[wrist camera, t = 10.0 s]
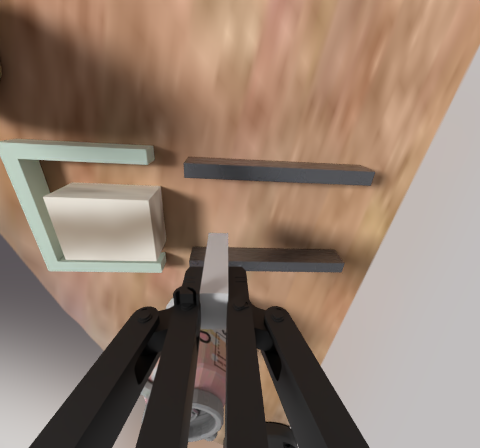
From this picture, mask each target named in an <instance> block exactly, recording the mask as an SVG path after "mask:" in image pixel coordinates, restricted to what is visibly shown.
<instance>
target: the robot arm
mask: <svg viewBox="0 0 480 448" xmlns="http://www.w3.org/2000/svg"><path fill="white" fill-rule="evenodd" d="M173 298H174V306H172V307H170V308H168V309H165V310H161V311H158V310H157V309H156V308H154V307H143V308H140V309H139V310H137V311H136V312H135V313H134V314H133V315H132V316H131V317H130V318H129V320H128V321H127V322H126V324H125V325H124V326H123V327H122V329H121V330H120V331H119V333H118V334H117V335H116V336H115V338H114V339H113V340H112V342H111V343H110V344H109V345H108V347H107V348H106V349H105V351H104V352H103V353H102V354H101V356H100V357H99V358H98V360H97V361H96V362H95V363H94V365H93V366H92V367H91V369H90V370H89V371H88V372H87V374H86V375H85V376H84V378H83V379H82V380H81V381H80V383H79V384H78V385H77V387H76V388H75V389H74V390H73V392H72V393H71V394H70V396H69V397H68V398H67V399H66V401H65V402H64V403H63V405H62V406H61V407H60V408H59V410H58V411H57V412H56V413H55V415H54V416H53V417H52V419H51V420H50V421H49V422H48V424H47V425H46V426H45V428H44V429H43V430H42V431H41V433H40V434H39V435H38V437H37V438H36V439H35V441H34V442H33V443H32V444H31V446H30V447H29V448H112V447H113V445H114V443H115V441H116V439H117V437H118V435H119V434H120V432H121V430H122V428H123V426H124V424H125V422H126V420H127V418H128V416H129V415H130V413H131V411H132V409H133V407H134V405H135V403H136V401H137V399H138V398H139V396H140V394H141V392H142V390H143V388H144V386H145V384H146V382H147V381H148V379H149V377H150V375H151V373H152V371H153V369H154V367H155V365H156V364H157V362H158V360H159V358H160V360H159V363H158V367H157V371H156V374H155V378H154V382H153V385H152V389H151V393H150V396H149V400H148V404H147V407H146V411H145V415H144V419H143V422H142V426H141V430H140V434H139V437H138V441H137V444H136V448H187V445H188V437H189V428H190V420H191V411H192V403H193V394H194V386H195V377H196V369H197V360H198V352H199V343H200V327H201V329H226V397H225V438H224V441H223V448H298V447H299V448H369V446H368V444H367V443H366V441H365V439H364V438H363V436H362V434H361V433H360V431H359V429H358V428H357V426H356V424H355V423H354V421H353V419H352V418H351V416H350V414H349V413H348V411H347V409H346V408H345V406H344V405H343V403H342V401H341V399H340V398H339V396H338V395H337V393H336V391H335V390H334V388H333V386H332V385H331V383H330V381H329V379H328V378H327V376H326V374H325V373H324V371H323V369H322V368H321V366H320V364H319V363H318V361H317V359H316V358H315V356H314V354H313V353H312V351H311V349H310V348H309V346H308V345H307V343H306V341H305V340H304V338H303V336H302V335H301V333H300V331H299V330H298V328H297V326H296V325H295V323H294V321H293V320H292V318H291V316H290V315H289V313H288V312H287V311H286V310H285V309H283V308H281V307H278V306H272V307H270V308H268V309H267V310H262V309H259V308H256V307H255V306H253V305H252V304H251V302H250V300H249V293H248V285H247V276H246V271H245V270H244V268H243V267H228V233H209V235H208V242H207V248H206V255H205V261H204V267H193V266H190V267H189V268H188V269H187V271H186V273H185V277H184V280H183V284H182V286H181V287H179V288H177V289H176V290H175V291H174V293H173ZM257 349H260V350H261V353H262V355H263V358H264V360H265V363H266V365H267V368H268V370H269V373H270V375H271V378H272V381H273V383H274V386H275V388H276V391H277V393H278V396H279V398H280V401H281V403H282V406H283V409H284V411H285V414H286V416H287V419H288V421H289V424H290V426H291V429H290V428H289V427H287V426H284V425H281V424H275V423H266V422H265V414H264V405H263V397H262V389H261V381H260V372H259V364H258V356H257ZM297 444H298V446H297Z"/></svg>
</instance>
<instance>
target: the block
mask: <svg viewBox="0 0 480 448" xmlns="http://www.w3.org/2000/svg"><path fill="white" fill-rule="evenodd" d="M43 199H44V202H45V204H46V207H47V210H48V213H49V215H50V218H51V221H52V224H53V226H54V229H55V232H56V235H57V237H58V240H59V243H60V246H61V248H62V251H63V254H64V257H65V259H66V260H109V261H157V260H158V257H159V255H160V253H161V251H162V249H163V247H164V244H165V242H166V231H165V221H164V212H163V203H162V193H161V186H149V185H124V184H100V183H75V182H72V183H70V184H68V185H66V186H64V187H62V188H60V189H58V190H56V191H54V192H52V193H50V194H47V195H45V196H43Z"/></svg>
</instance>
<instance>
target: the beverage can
mask: <svg viewBox="0 0 480 448" xmlns="http://www.w3.org/2000/svg"><path fill="white" fill-rule="evenodd" d="M172 306H174V298H172V299H171V300H170V302H169V303H168V305H167V306H166V309H168V308H170V307H172ZM159 360H160V358H159ZM159 360H158V362H157V364H156V365H155V367H154V369H153V371H152V373H151V375H150V377H149V379H148V381H147V382H146V384H145V386H144V388H143V390H142V392H141V395H142V396H144V399H145V402H146V407H147V404H148V400H149V396H150V393H151V389H152V385H153V382H154V378H155V374H156V371H157V367H158V363H159ZM225 397H226V329H201V327H200V343H199V352H198V360H197V369H196V377H195V386H194V394H193V403H192V411H191V420H190V428H189V437H188V442H193V441H198V440H202V439H205V440H207V441H213V440H214V439H215V438H216V436H217V431H219V430H220V429H221V427H222V425H223V415H224V409H223V407H224V405H225ZM146 407H145V410H144V414H143V419H144V415H145V411H146ZM143 419H142V422H143Z"/></svg>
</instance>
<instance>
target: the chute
mask: <svg viewBox="0 0 480 448" xmlns="http://www.w3.org/2000/svg"><path fill="white" fill-rule="evenodd" d="M374 174H375V172H374V171H372V170H370V169H368V168H365V167H363V166H361V165H348V164H327V163H306V162H286V161H265V160H245V159H224V158H203V157H188V158H187V159H186V161H185V162H184V178H203V179H227V180H250V181H274V182H297V183H321V184H345V185H368V186H371V183H372V180H373V177H374ZM206 248H207V247H193V248H192V252H191V256H190V260H189V265H190V266H193V267H204V261H205V255H206ZM344 264H345V263H344V262H343V260H342V259H341V258H340V256H339V255H338V254H337V252H336V251H335V250H320V249H275V248H229V247H228V267H243V268H244V270H245V271H282V272H342V270H343V267H344Z"/></svg>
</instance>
